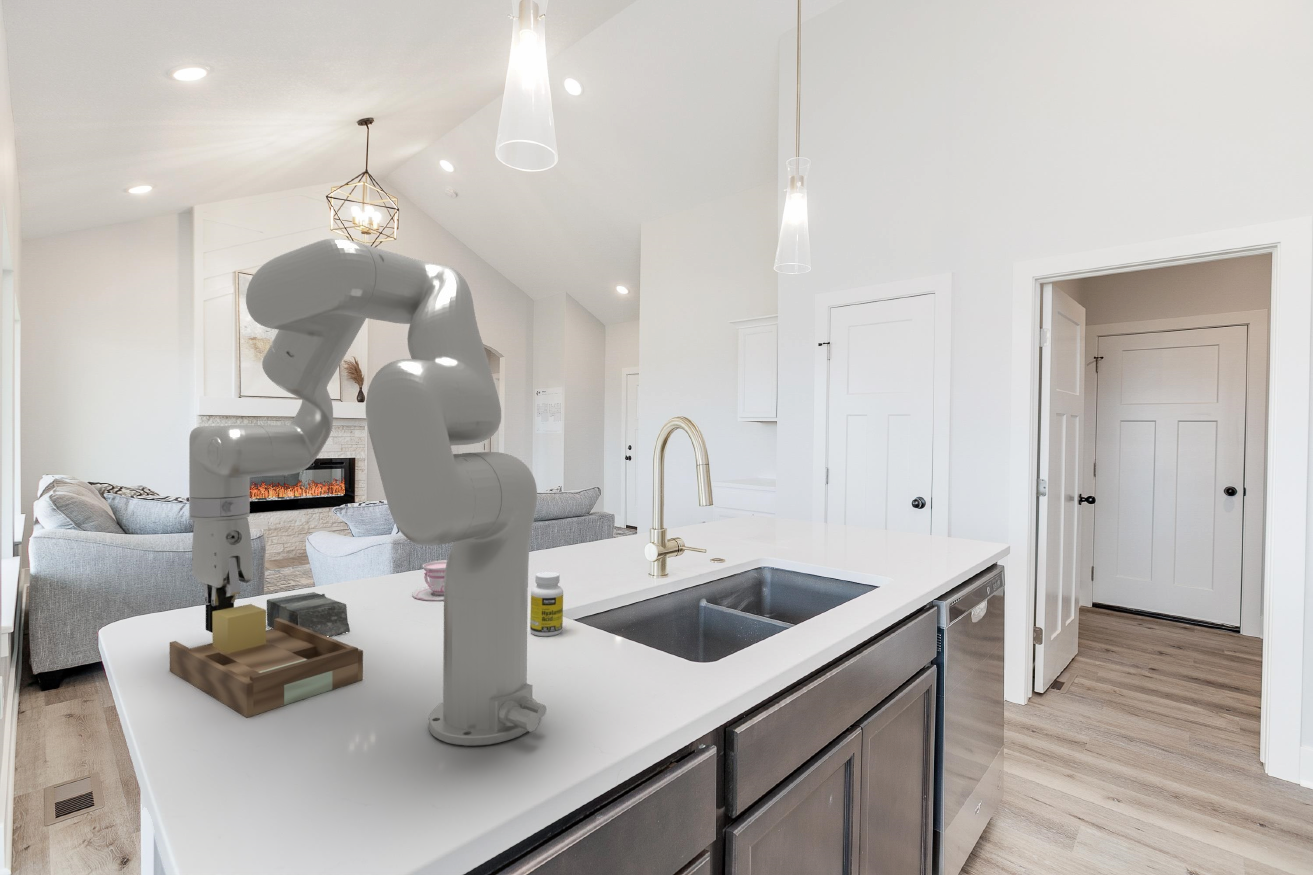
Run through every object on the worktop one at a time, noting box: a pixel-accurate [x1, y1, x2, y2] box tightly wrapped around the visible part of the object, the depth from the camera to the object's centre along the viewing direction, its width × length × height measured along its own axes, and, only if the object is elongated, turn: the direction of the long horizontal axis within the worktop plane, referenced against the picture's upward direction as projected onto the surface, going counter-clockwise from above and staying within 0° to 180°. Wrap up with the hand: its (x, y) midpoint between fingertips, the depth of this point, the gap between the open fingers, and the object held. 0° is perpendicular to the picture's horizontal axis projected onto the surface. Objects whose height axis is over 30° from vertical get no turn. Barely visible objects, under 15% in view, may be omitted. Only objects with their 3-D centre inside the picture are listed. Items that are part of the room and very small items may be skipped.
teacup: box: [412, 559, 447, 602], centre depth 133 cm, size 12×12×6 cm
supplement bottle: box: [529, 571, 564, 637], centre depth 109 cm, size 5×5×10 cm
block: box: [212, 603, 267, 654], centre depth 94 cm, size 5×5×5 cm
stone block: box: [266, 591, 351, 637], centre depth 110 cm, size 9×14×5 cm, turn 48°
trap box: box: [169, 618, 364, 718], centre depth 89 cm, size 24×14×4 cm, turn 55°
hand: (219, 629), depth 98 cm, fingers closed
